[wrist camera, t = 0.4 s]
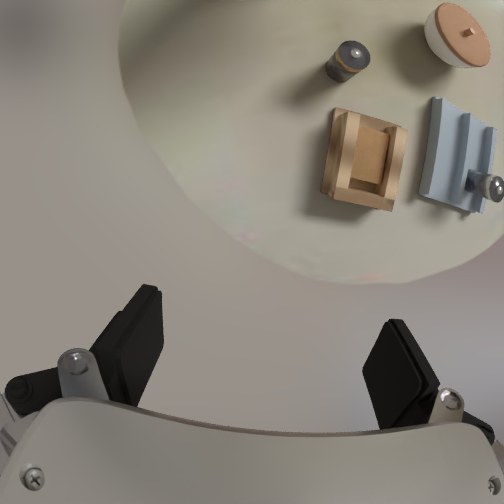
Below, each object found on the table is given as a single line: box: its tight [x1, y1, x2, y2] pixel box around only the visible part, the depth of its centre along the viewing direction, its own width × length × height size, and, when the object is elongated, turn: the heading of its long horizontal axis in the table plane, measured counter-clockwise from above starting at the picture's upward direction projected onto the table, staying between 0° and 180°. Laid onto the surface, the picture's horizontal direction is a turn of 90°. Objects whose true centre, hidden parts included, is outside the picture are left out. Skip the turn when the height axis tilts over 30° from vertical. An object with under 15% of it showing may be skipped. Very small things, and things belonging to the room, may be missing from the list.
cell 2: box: [464, 169, 504, 202], centre depth 29 cm, size 4×4×8 cm
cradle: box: [321, 107, 407, 212], centre depth 32 cm, size 12×10×4 cm
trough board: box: [418, 96, 497, 214], centre depth 31 cm, size 16×13×3 cm
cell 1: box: [326, 41, 370, 82], centre depth 26 cm, size 4×4×8 cm
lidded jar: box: [424, 3, 491, 68], centre depth 21 cm, size 11×11×9 cm
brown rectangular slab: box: [350, 126, 389, 185], centre depth 32 cm, size 7×5×1 cm, turn 172°
